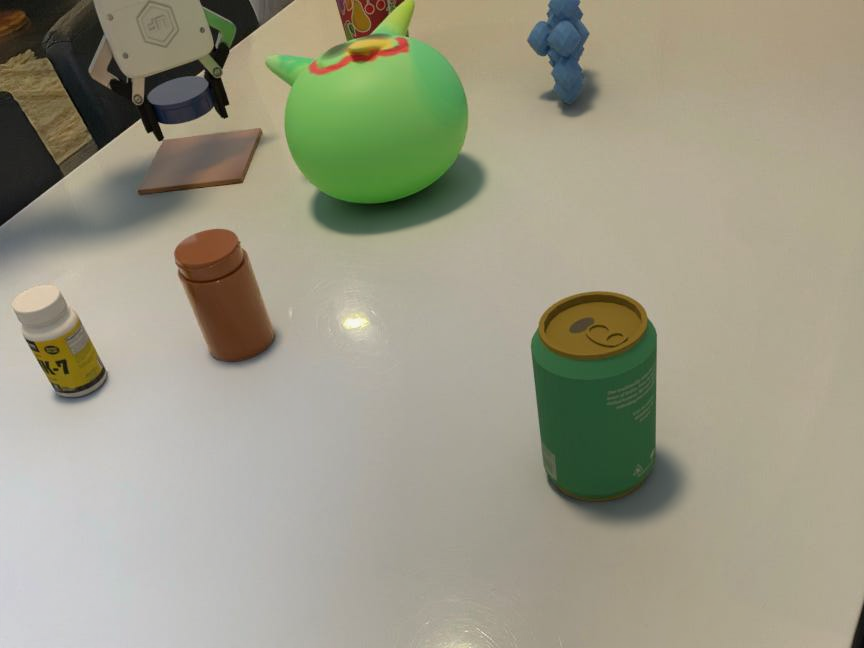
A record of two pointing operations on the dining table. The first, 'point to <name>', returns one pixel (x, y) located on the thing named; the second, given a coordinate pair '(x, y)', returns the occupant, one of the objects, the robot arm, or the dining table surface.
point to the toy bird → (374, 114)
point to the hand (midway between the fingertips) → (190, 124)
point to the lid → (182, 100)
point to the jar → (224, 294)
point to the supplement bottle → (59, 341)
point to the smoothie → (364, 15)
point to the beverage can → (596, 394)
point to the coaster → (201, 161)
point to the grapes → (562, 46)
